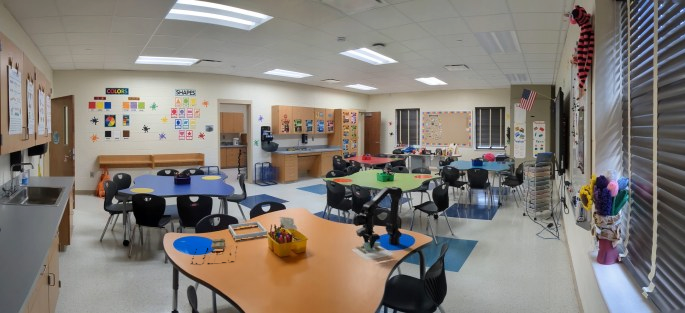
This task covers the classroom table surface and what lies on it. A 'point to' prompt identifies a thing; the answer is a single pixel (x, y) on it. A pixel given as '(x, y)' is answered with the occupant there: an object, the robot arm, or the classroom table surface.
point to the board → (373, 253)
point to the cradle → (364, 250)
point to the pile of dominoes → (218, 244)
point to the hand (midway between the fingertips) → (368, 246)
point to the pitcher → (287, 223)
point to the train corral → (248, 233)
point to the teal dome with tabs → (367, 246)
